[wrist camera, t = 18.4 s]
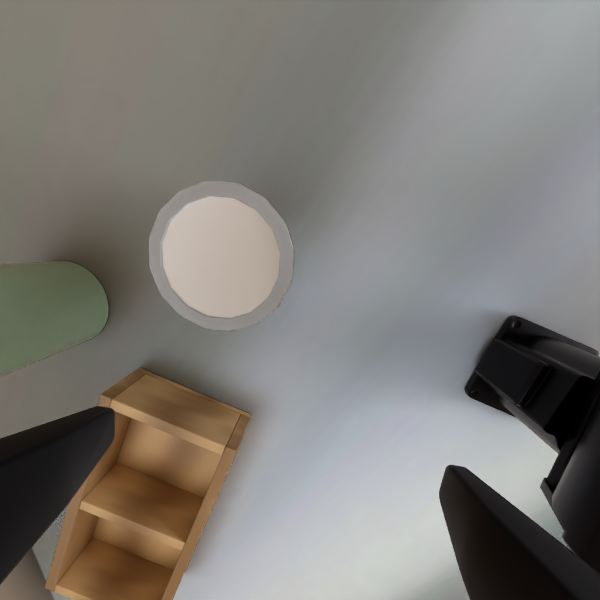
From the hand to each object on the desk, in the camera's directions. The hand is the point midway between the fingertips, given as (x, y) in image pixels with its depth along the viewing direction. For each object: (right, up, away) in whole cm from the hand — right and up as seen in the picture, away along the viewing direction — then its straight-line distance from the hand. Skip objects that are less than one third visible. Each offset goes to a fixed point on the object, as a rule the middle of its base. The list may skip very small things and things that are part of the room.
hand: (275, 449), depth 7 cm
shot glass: (-3, +7, +12) cm, 14 cm away
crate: (-11, -11, +16) cm, 23 cm away
